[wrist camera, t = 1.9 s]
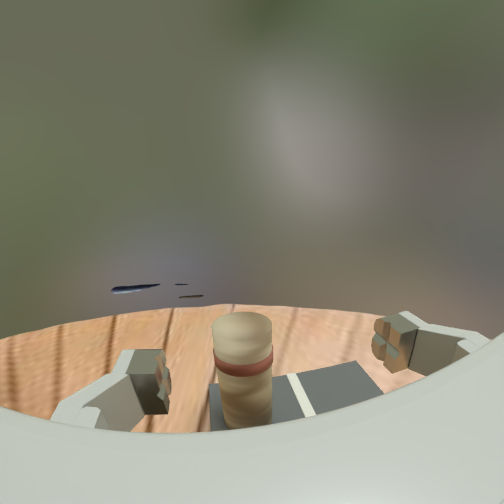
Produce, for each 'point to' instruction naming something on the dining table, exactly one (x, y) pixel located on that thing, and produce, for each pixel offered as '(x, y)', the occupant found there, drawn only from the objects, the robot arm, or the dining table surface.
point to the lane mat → (308, 393)
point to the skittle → (244, 368)
